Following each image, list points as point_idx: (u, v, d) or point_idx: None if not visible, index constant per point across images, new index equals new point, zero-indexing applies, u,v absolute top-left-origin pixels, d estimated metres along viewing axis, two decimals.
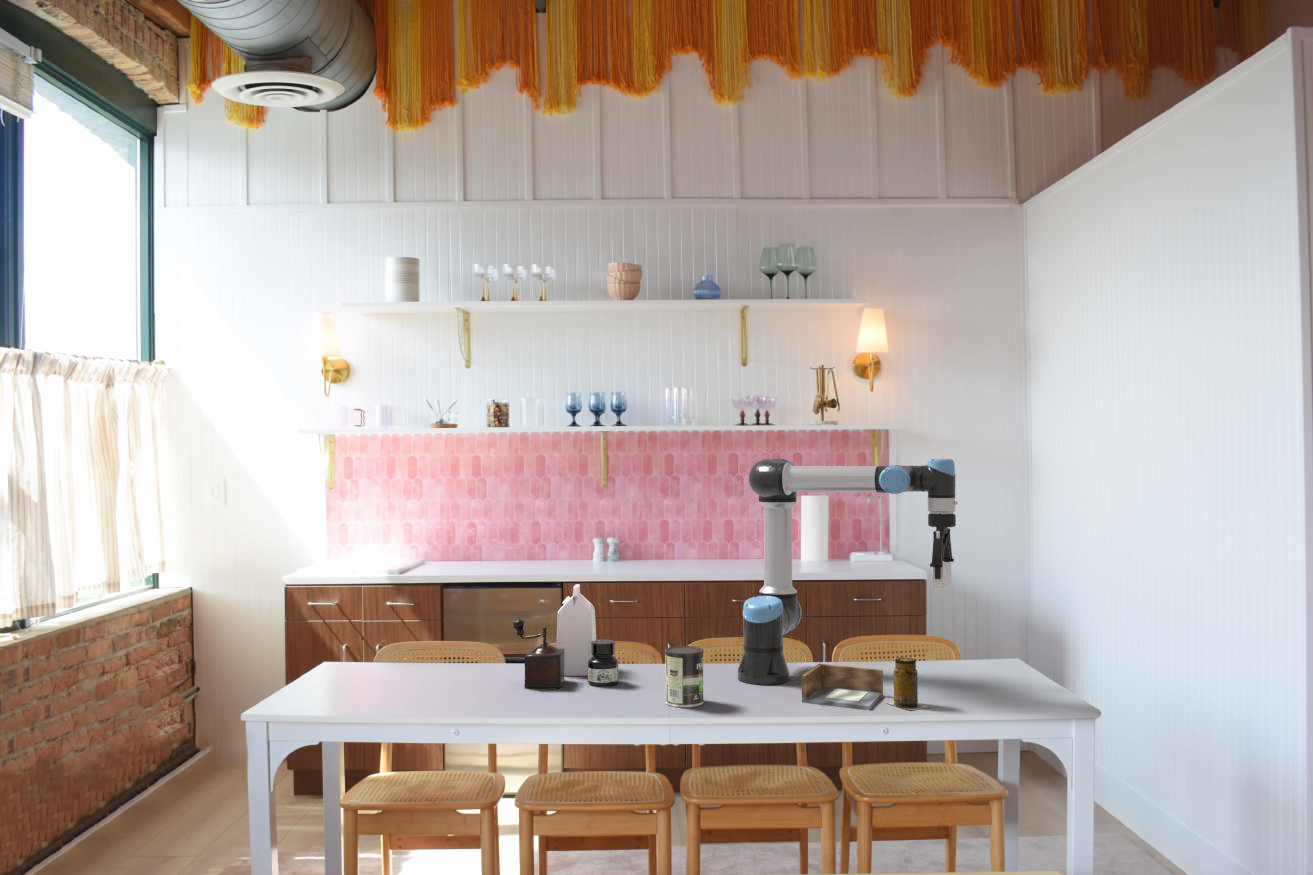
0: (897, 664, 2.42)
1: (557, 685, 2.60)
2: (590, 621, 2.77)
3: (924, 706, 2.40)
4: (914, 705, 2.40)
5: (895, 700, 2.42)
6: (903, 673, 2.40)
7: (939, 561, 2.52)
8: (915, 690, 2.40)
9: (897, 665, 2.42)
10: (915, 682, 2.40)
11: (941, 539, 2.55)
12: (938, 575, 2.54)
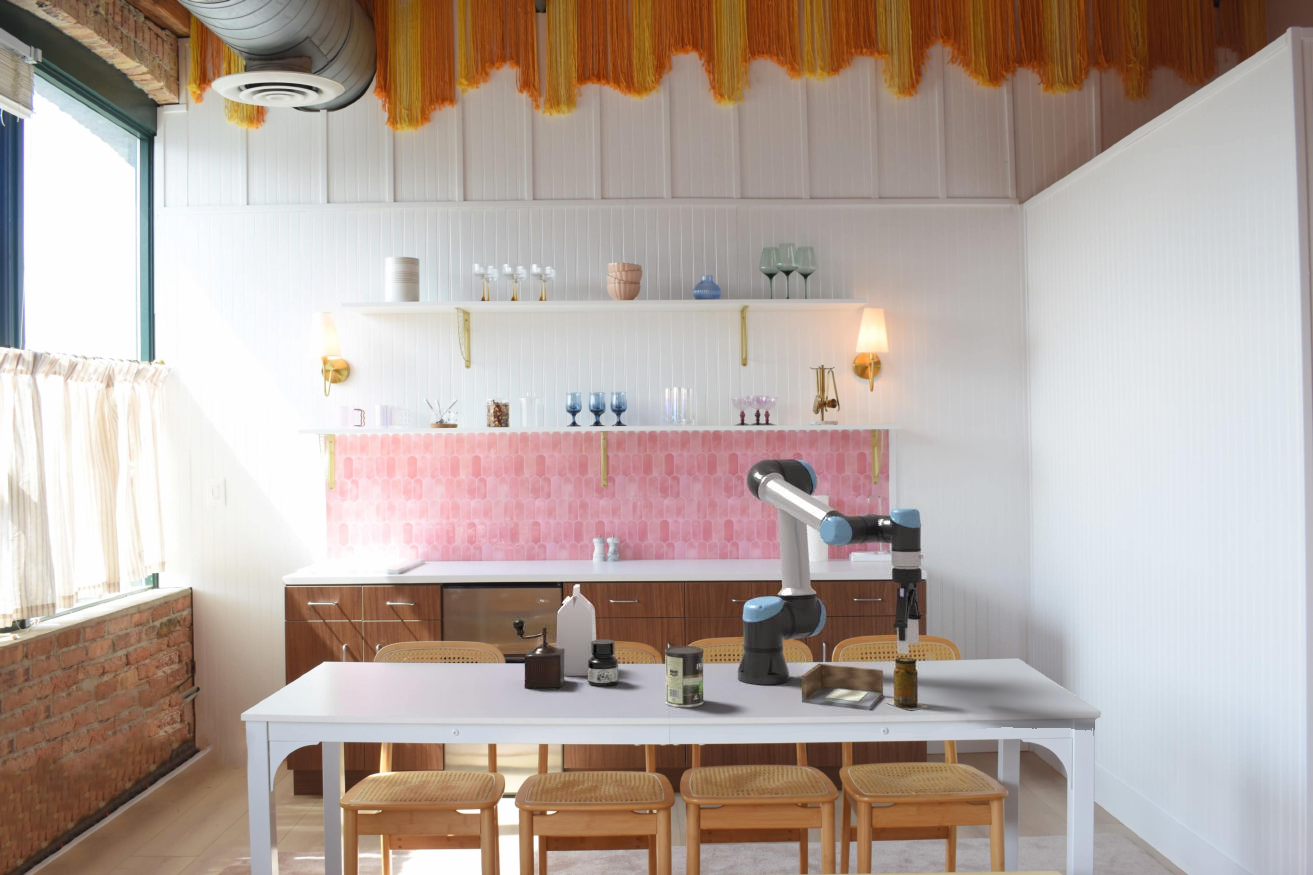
0: (897, 664, 2.42)
1: (557, 685, 2.60)
2: (590, 621, 2.77)
3: (924, 706, 2.40)
4: (914, 705, 2.40)
5: (895, 700, 2.42)
6: (903, 673, 2.40)
7: (903, 622, 2.33)
8: (915, 690, 2.40)
9: (897, 665, 2.42)
10: (915, 682, 2.40)
11: (905, 597, 2.35)
12: (902, 636, 2.34)
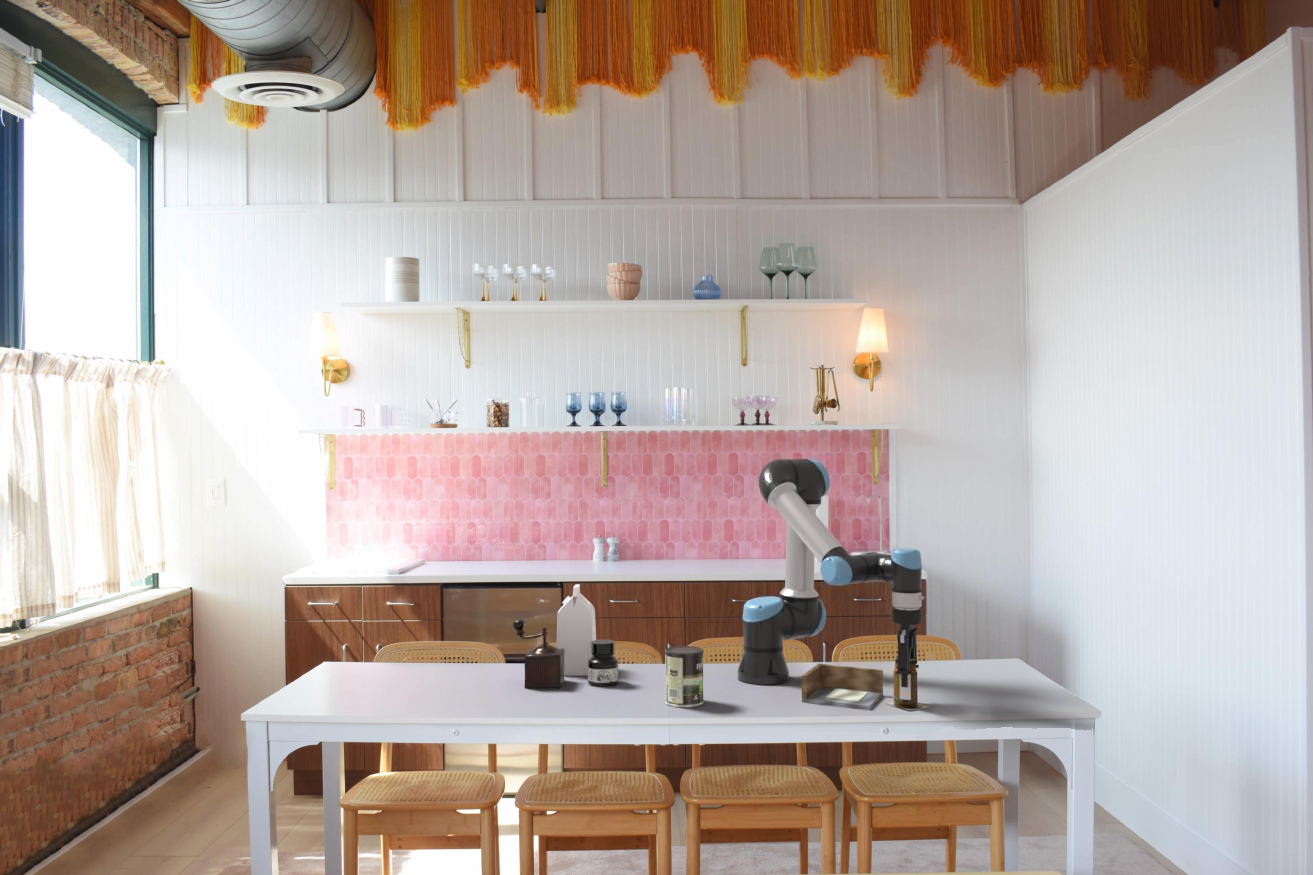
0: (897, 664, 2.41)
1: (557, 685, 2.60)
2: (590, 621, 2.77)
3: (924, 706, 2.39)
4: (914, 705, 2.39)
5: (895, 700, 2.41)
6: None
7: (905, 670, 2.35)
8: (915, 690, 2.40)
9: (897, 665, 2.41)
10: (915, 682, 2.40)
11: (906, 644, 2.36)
12: (905, 683, 2.37)
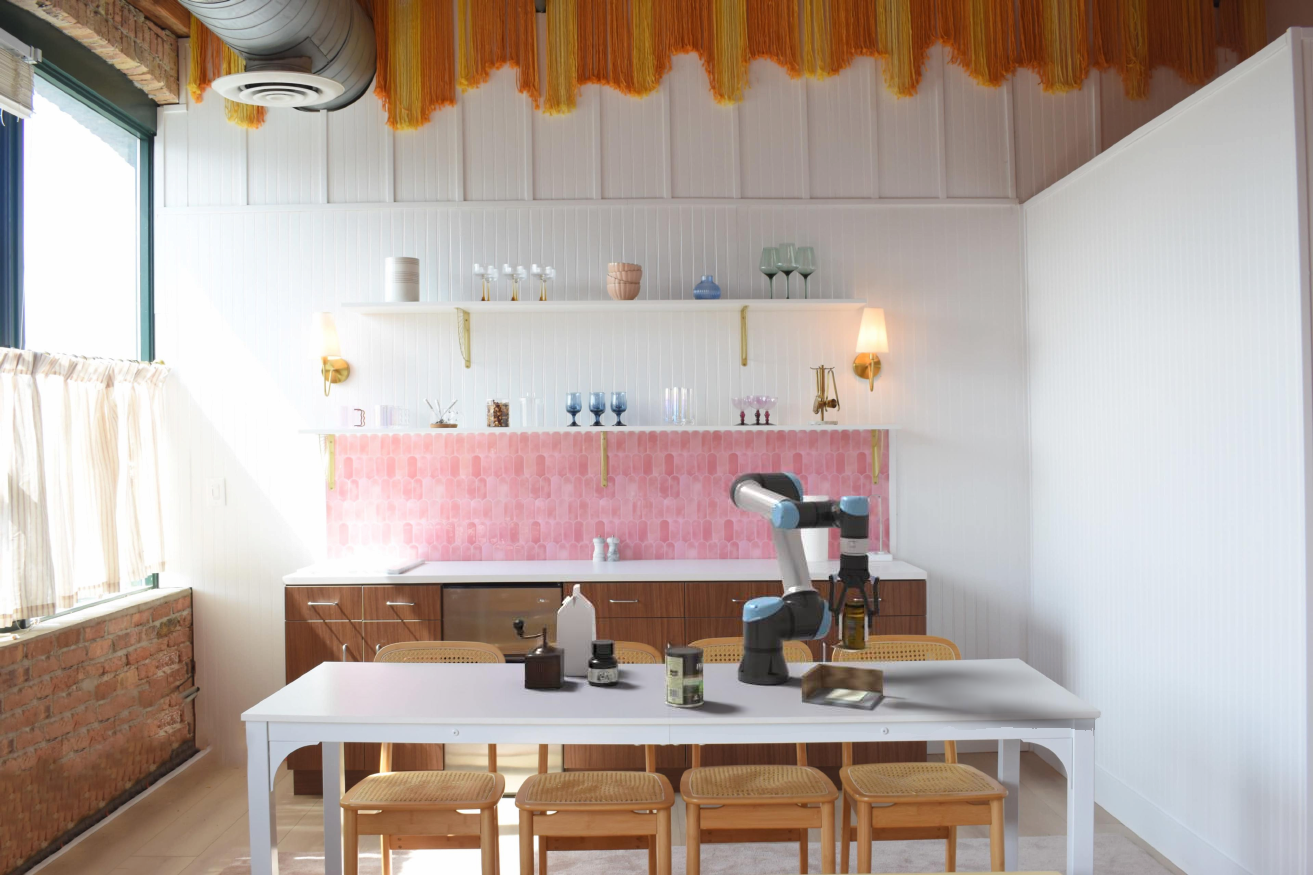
0: None
1: (557, 685, 2.60)
2: (590, 621, 2.77)
3: (851, 650, 2.44)
4: (847, 647, 2.46)
5: None
6: None
7: None
8: (848, 633, 2.46)
9: None
10: (849, 625, 2.46)
11: (830, 583, 2.49)
12: None
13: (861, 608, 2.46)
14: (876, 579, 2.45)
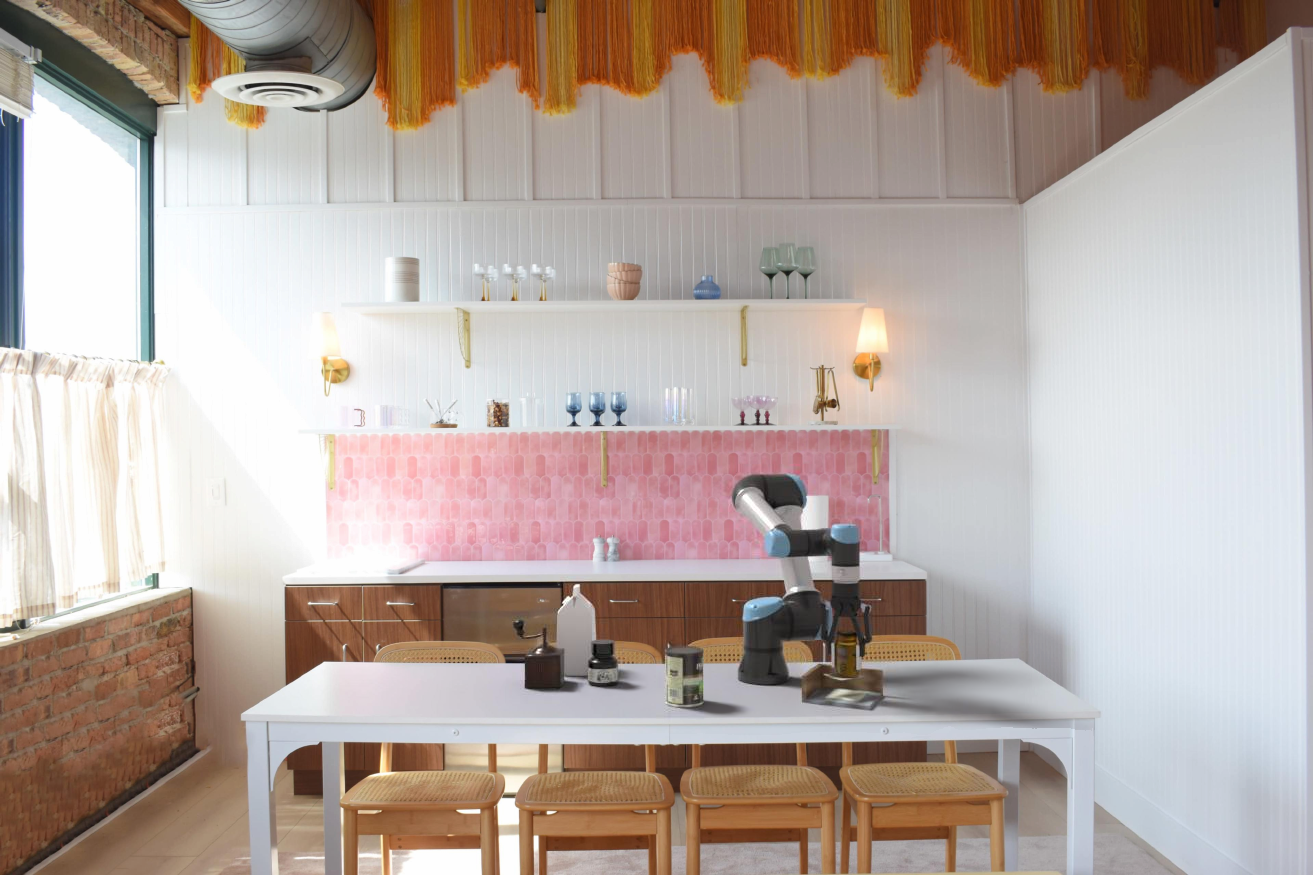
0: None
1: (557, 685, 2.60)
2: (590, 621, 2.77)
3: (841, 679, 2.44)
4: (839, 675, 2.46)
5: None
6: None
7: None
8: (840, 661, 2.46)
9: None
10: (840, 654, 2.46)
11: None
12: None
13: (852, 637, 2.46)
14: (867, 607, 2.44)
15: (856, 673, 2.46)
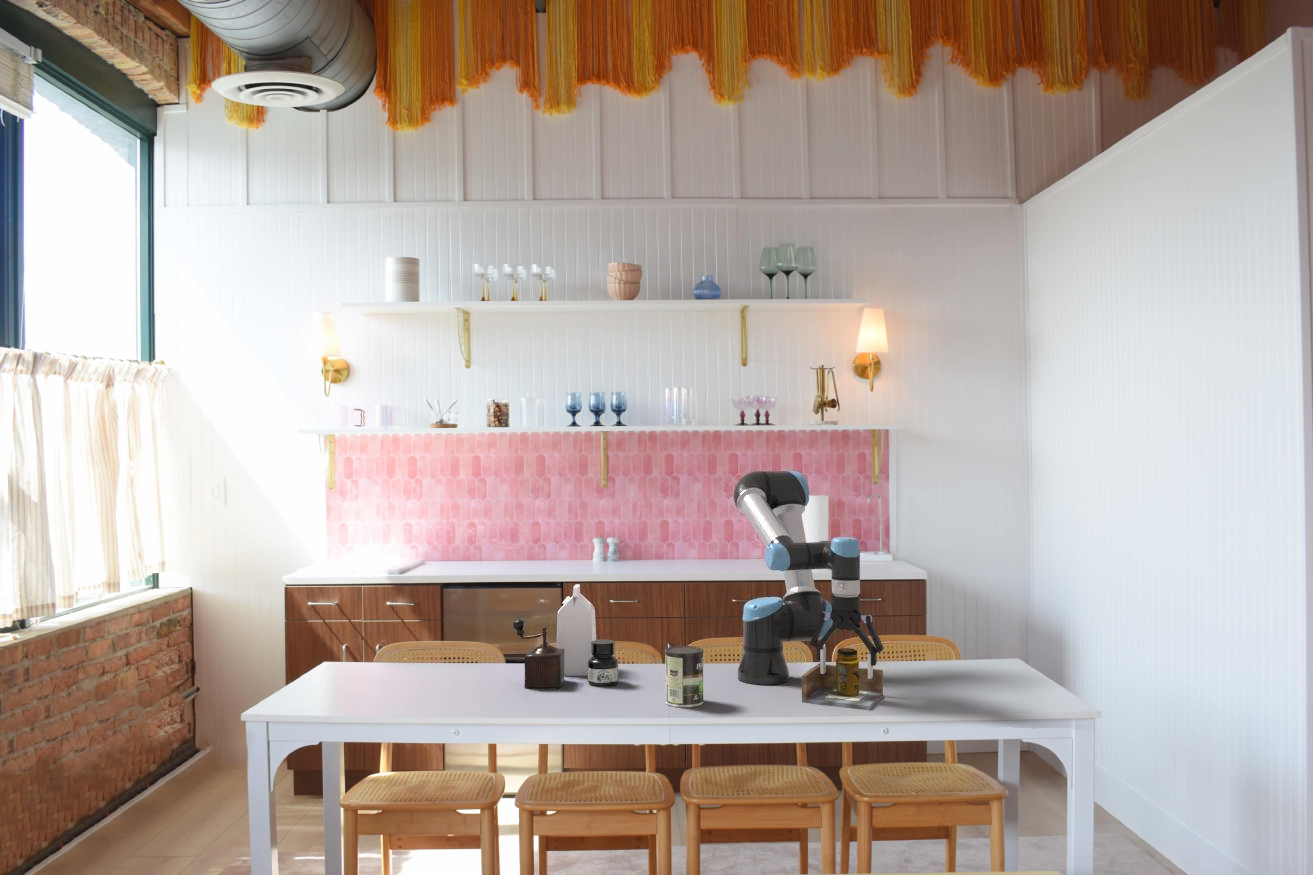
0: None
1: (557, 685, 2.60)
2: (590, 621, 2.77)
3: (842, 697, 2.44)
4: (840, 694, 2.46)
5: None
6: None
7: None
8: (840, 680, 2.46)
9: None
10: (840, 672, 2.46)
11: (820, 620, 2.50)
12: None
13: (853, 655, 2.46)
14: (867, 617, 2.44)
15: (856, 691, 2.46)
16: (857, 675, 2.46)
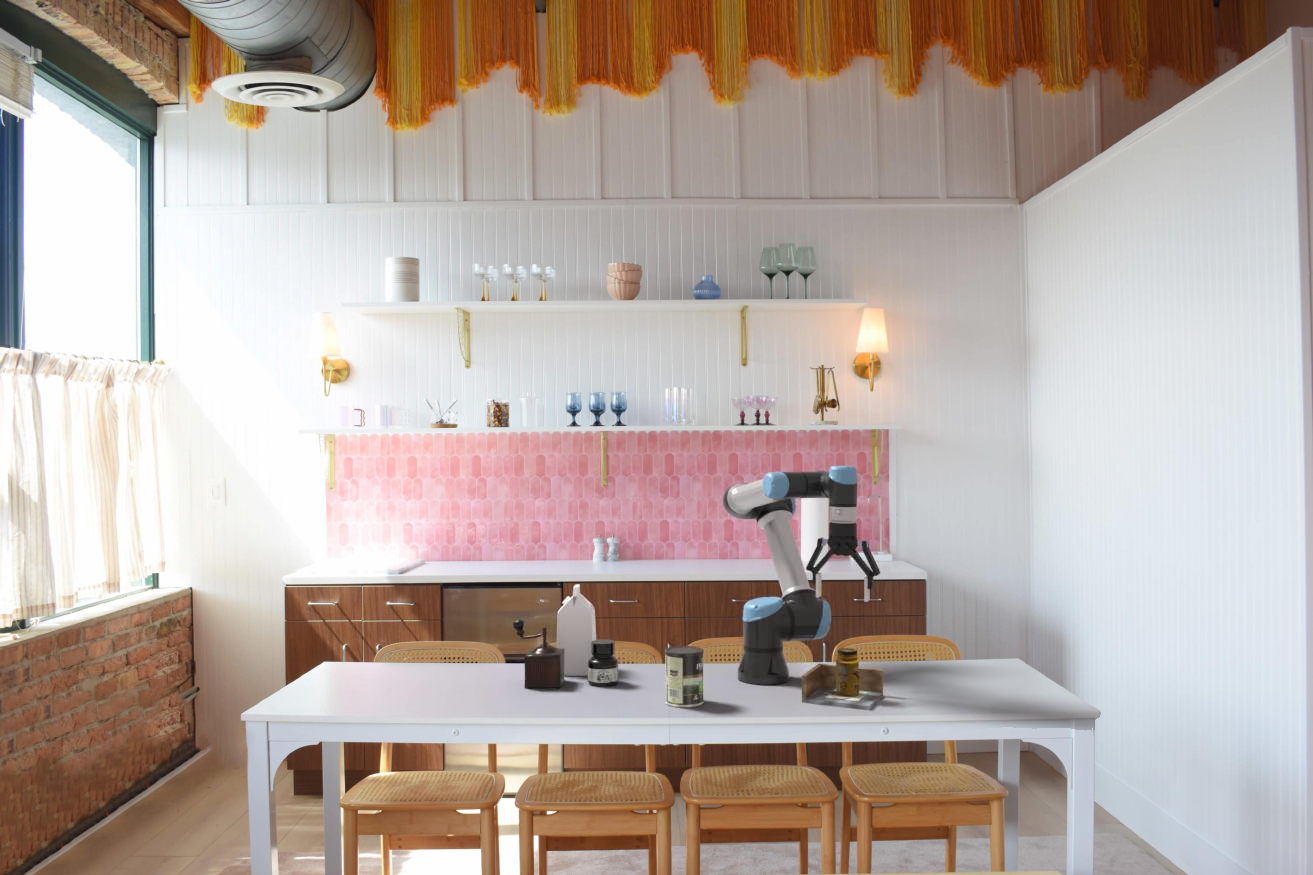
0: None
1: (557, 685, 2.60)
2: (590, 621, 2.77)
3: (842, 697, 2.44)
4: (840, 694, 2.46)
5: None
6: None
7: None
8: (840, 680, 2.46)
9: None
10: (840, 672, 2.46)
11: (817, 546, 2.56)
12: None
13: (853, 655, 2.46)
14: (863, 542, 2.49)
15: (856, 691, 2.46)
16: (857, 675, 2.46)
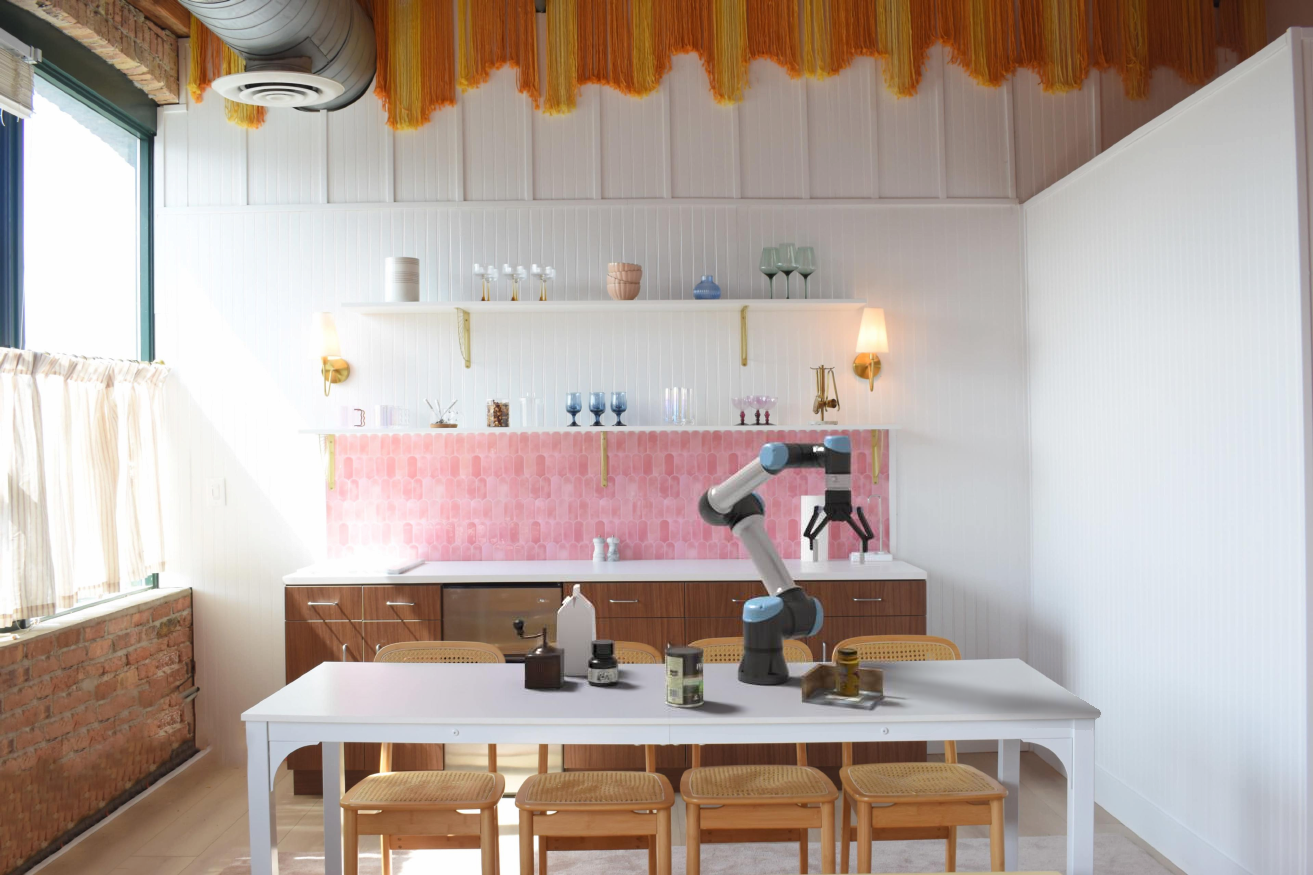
0: None
1: (557, 685, 2.60)
2: (590, 621, 2.77)
3: (842, 697, 2.44)
4: (840, 694, 2.46)
5: None
6: None
7: None
8: (840, 680, 2.46)
9: None
10: (840, 672, 2.46)
11: None
12: None
13: (853, 655, 2.46)
14: (857, 508, 2.61)
15: (856, 691, 2.46)
16: (857, 675, 2.46)
